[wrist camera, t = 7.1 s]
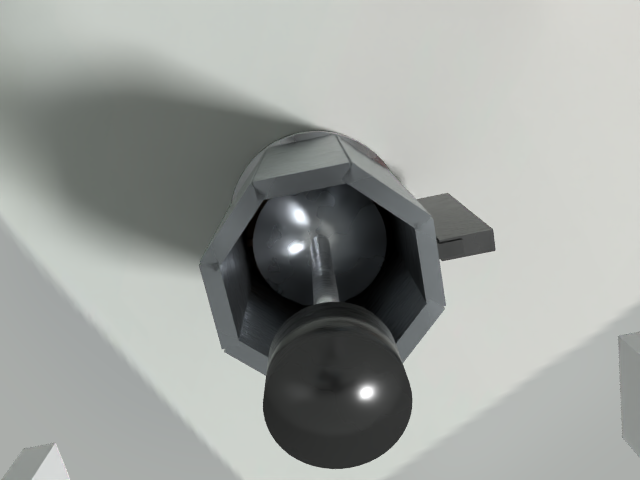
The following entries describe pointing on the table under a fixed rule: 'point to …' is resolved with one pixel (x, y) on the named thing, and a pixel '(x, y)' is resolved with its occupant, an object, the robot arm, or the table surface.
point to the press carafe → (400, 258)
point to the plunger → (329, 331)
